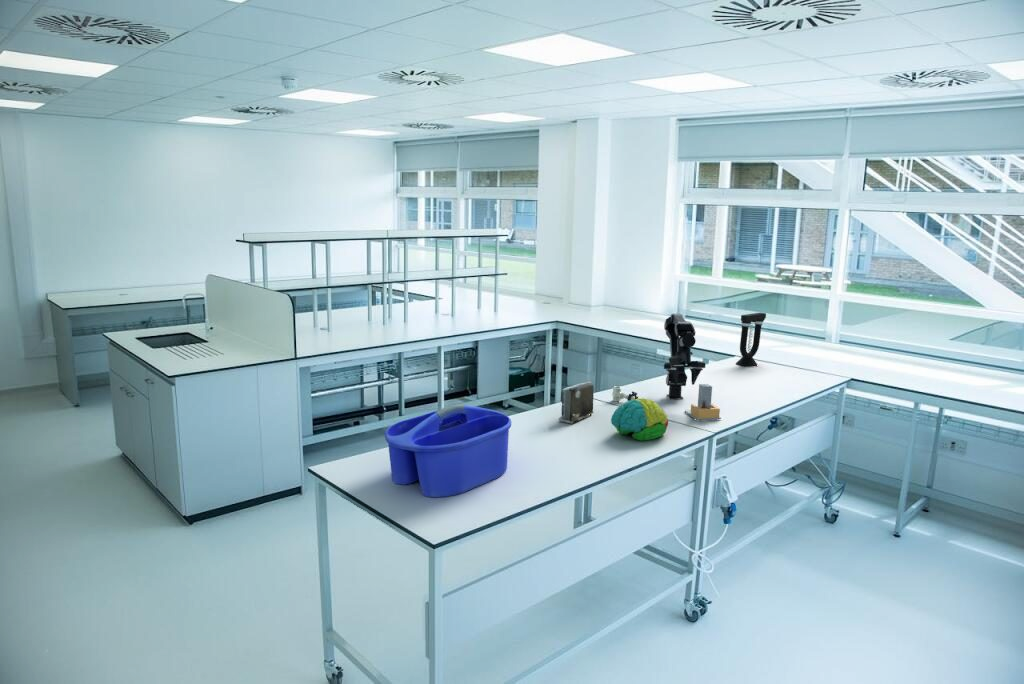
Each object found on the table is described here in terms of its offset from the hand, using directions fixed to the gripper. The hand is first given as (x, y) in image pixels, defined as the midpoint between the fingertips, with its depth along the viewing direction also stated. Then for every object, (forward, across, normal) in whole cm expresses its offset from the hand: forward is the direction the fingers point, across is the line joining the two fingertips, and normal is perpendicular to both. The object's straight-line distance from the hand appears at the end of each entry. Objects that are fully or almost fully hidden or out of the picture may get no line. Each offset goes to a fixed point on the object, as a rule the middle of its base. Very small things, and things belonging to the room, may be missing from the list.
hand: (684, 384), depth 287 cm
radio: (+15, -24, -43) cm, 51 cm away
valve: (+8, -25, -12) cm, 29 cm away
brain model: (+22, +8, -40) cm, 46 cm away
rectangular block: (+13, +10, 0) cm, 16 cm away
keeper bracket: (+14, +8, +1) cm, 16 cm away
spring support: (-18, -34, +105) cm, 112 cm away
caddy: (+36, -5, -118) cm, 123 cm away
